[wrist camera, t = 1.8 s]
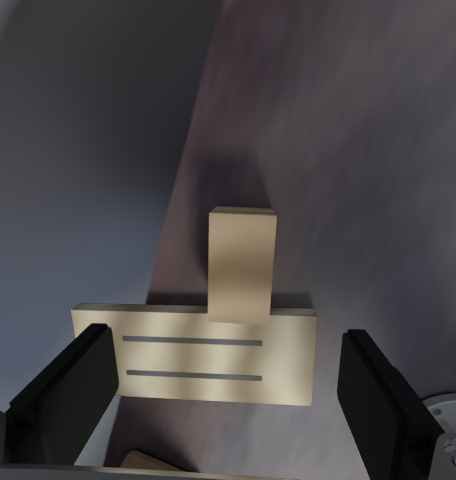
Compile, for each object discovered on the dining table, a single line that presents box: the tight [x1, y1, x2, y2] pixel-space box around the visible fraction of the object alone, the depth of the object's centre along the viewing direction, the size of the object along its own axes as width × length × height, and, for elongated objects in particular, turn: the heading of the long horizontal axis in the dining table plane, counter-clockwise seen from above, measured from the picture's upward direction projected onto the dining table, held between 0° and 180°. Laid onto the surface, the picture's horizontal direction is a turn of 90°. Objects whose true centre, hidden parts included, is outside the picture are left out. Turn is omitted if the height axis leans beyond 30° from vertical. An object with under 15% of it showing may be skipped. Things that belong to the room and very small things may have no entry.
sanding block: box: [208, 206, 277, 326], centre depth 23 cm, size 9×5×5 cm, turn 178°
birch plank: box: [71, 303, 317, 406], centre depth 28 cm, size 24×10×2 cm, turn 91°
